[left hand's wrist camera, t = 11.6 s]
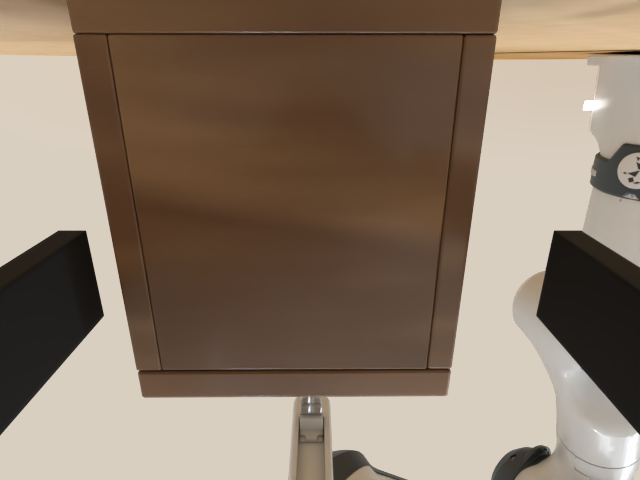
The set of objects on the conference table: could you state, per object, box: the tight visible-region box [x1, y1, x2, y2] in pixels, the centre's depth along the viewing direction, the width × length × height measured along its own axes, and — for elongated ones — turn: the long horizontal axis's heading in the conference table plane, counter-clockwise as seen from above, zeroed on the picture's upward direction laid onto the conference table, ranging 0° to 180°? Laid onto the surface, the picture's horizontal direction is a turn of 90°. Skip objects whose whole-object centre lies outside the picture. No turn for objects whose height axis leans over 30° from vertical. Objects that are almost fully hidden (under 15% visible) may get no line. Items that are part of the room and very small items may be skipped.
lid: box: [138, 367, 451, 397], centre depth 22 cm, size 18×9×9 cm, turn 0°
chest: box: [67, 0, 502, 370], centre depth 18 cm, size 17×9×9 cm, turn 0°
